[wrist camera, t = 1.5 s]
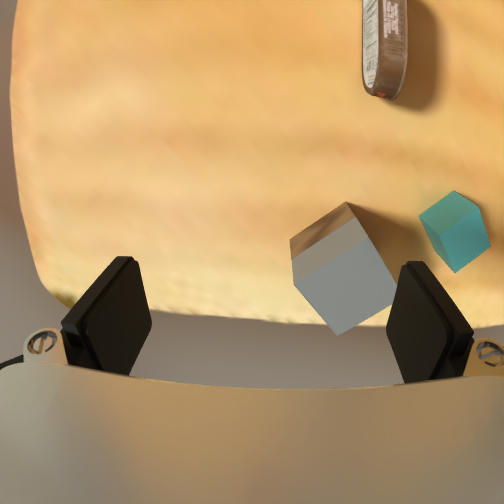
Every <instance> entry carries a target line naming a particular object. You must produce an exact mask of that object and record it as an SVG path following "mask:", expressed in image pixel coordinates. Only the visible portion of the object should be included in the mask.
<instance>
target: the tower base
mask: <svg viewBox="0 0 504 504" xmlns="http://www.w3.org/2000/svg"><path fill="white" fill-rule="evenodd" d="M354 217H355V215H354V214H353V212H352V210H351V209H350V207H349V206H348V205H347V203H346V202H344V203H343V204H341V205H340V206H338V207H337V208H335V209H334V210H332V211H331V212H330V213H328V214H327V215H325V216H324V217H322V218H321V219H319V220H318V221H316V222H315V223H313V224H312V225H310V226H309V227H307V228H306V229H304V230H303V231H302V232H300V233H299V234H297V235H296V236H294V237H293V238H291V239H290V249H291V259H292V258H294V257H295V256H297V255H298V254H300V253H301V252H303V251H305V250H306V249H308V248H309V247H311V246H312V245H314V244H315V243H317V242H318V241H320V240H321V239H323V238H324V237H326V236H327V235H329V234H330V233H332V232H333V231H335V230H336V229H338V228H339V227H341V226H342V225H344V224H345V223H347V222H348V221H350V220H351V219H353V218H354Z"/></svg>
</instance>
